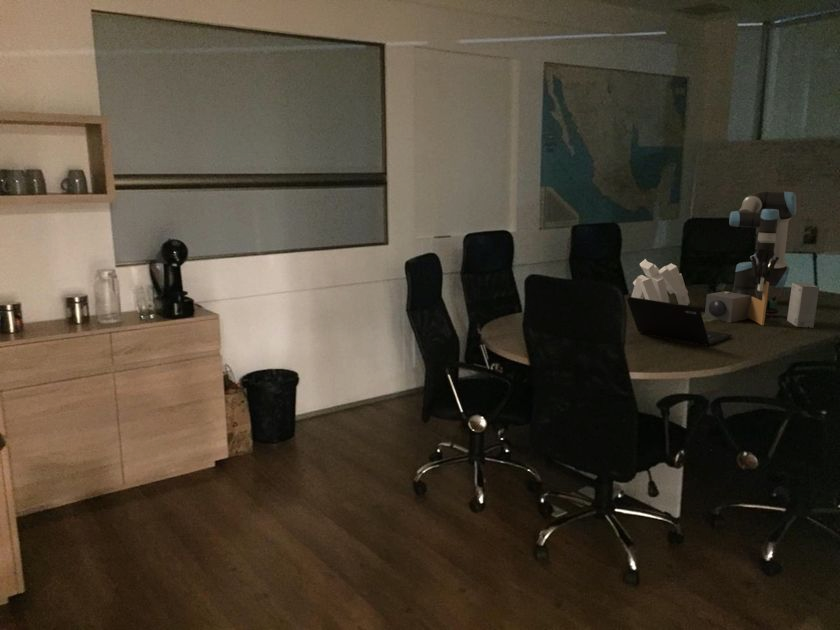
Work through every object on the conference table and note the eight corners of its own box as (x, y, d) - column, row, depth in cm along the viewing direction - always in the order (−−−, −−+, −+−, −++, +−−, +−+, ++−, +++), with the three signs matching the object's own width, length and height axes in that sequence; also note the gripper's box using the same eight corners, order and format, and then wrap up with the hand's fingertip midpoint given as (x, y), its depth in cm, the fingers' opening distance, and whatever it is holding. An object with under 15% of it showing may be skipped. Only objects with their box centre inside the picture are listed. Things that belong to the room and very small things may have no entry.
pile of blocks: (654, 310, 384) (629, 256, 379) (705, 297, 363) (679, 239, 358) (633, 337, 360) (606, 280, 354) (686, 325, 339) (658, 264, 334)
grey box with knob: (721, 313, 351) (724, 290, 348) (747, 318, 339) (750, 294, 337) (702, 317, 340) (704, 293, 338) (728, 323, 329) (730, 297, 326)
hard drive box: (814, 328, 320) (819, 287, 316) (796, 327, 322) (802, 286, 317) (802, 321, 335) (808, 282, 331) (786, 320, 336) (791, 281, 332)
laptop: (732, 338, 300) (737, 296, 296) (695, 353, 275) (699, 307, 270) (662, 325, 323) (666, 286, 319) (622, 338, 298) (625, 295, 294)
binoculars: (762, 299, 339) (759, 294, 348) (760, 319, 342) (756, 313, 351) (782, 300, 336) (778, 295, 346) (779, 320, 340) (775, 314, 349)
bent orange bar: (748, 317, 339) (753, 277, 334) (750, 318, 339) (755, 277, 334) (761, 325, 323) (767, 282, 319) (763, 325, 323) (769, 282, 319)
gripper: (755, 242, 313) (749, 291, 318) (783, 243, 313) (777, 292, 318) (749, 240, 321) (742, 288, 326) (776, 241, 320) (770, 289, 325)
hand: (759, 290), depth 322 cm, fingers closed
